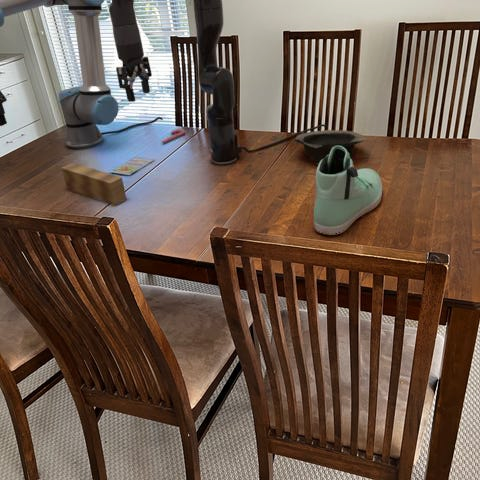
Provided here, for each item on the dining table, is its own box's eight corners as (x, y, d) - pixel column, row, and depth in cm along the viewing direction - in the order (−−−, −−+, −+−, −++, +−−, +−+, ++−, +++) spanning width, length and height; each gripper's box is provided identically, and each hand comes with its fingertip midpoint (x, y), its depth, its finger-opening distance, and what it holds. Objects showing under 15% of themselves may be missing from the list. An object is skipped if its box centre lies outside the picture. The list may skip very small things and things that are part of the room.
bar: (67, 189, 165) (61, 167, 161) (78, 183, 168) (73, 162, 164) (115, 205, 151) (109, 183, 147) (126, 199, 155) (122, 177, 150)
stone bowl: (322, 174, 159) (321, 147, 155) (282, 157, 179) (280, 133, 175) (380, 156, 168) (380, 130, 163) (336, 142, 188) (335, 118, 184)
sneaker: (389, 187, 148) (396, 123, 138) (356, 242, 123) (361, 168, 112) (346, 181, 154) (350, 119, 144) (306, 232, 129) (307, 161, 118)
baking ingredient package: (109, 171, 174) (134, 157, 185) (109, 172, 174) (134, 158, 185) (129, 174, 170) (153, 159, 182) (129, 175, 170) (153, 160, 182)
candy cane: (153, 142, 199) (153, 139, 199) (177, 131, 210) (176, 127, 209) (164, 144, 196) (163, 141, 196) (187, 133, 206) (187, 129, 206)
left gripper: (-81, 59, 146) (-54, 127, 157) (-13, 57, 139) (10, 128, 150) (-62, 54, 152) (-37, 120, 163) (4, 52, 145) (25, 121, 156)
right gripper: (125, 46, 132) (137, 104, 141) (151, 35, 143) (161, 90, 151) (102, 46, 135) (116, 103, 143) (130, 36, 145) (141, 90, 154)
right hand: (139, 96), depth 147 cm, fingers open, 8 cm apart
